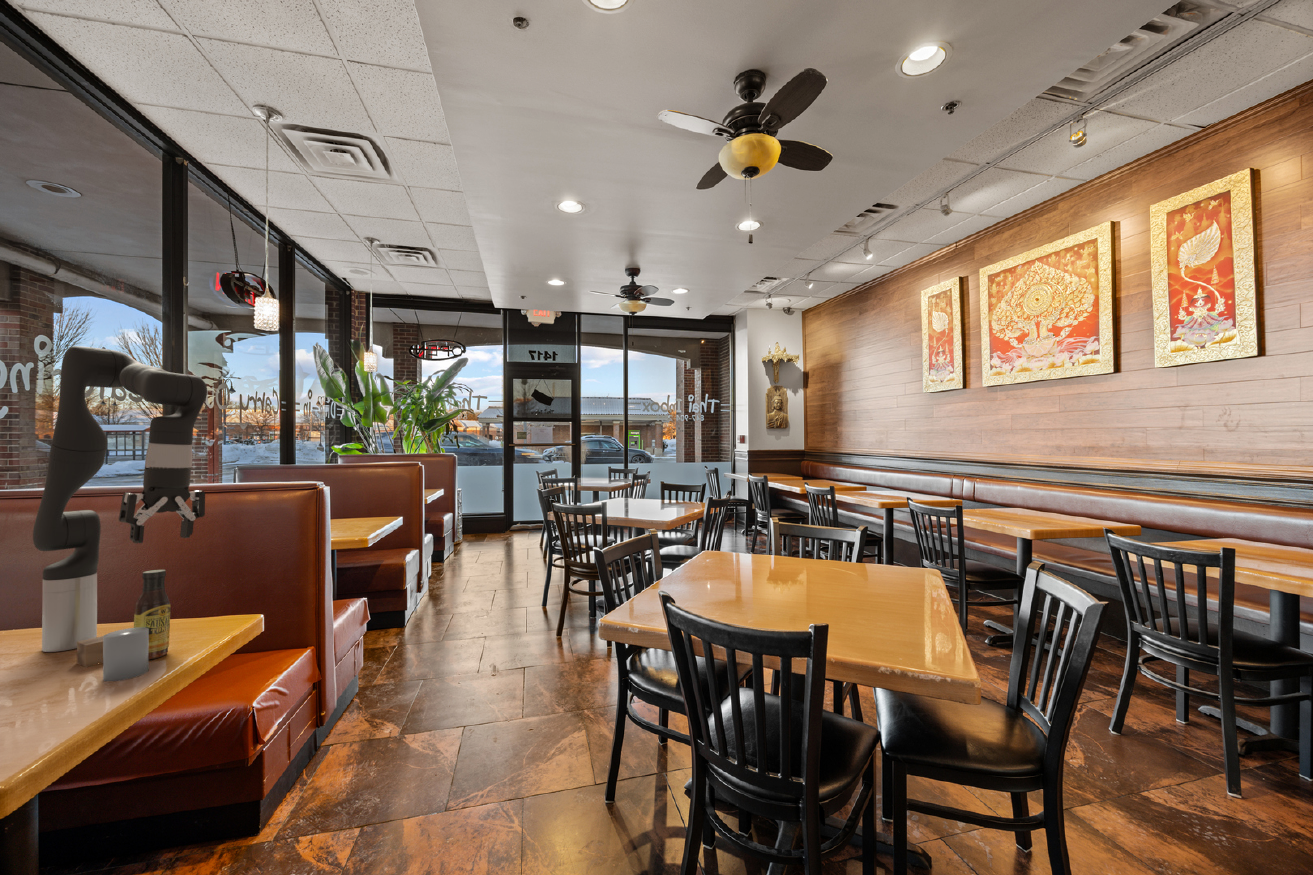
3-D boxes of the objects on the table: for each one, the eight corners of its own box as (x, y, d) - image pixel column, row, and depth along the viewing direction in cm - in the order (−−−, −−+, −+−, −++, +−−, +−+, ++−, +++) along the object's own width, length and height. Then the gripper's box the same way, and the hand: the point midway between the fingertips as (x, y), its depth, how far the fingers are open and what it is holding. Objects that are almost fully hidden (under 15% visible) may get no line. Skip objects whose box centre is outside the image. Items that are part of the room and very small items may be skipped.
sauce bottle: (146, 663, 122) (147, 575, 123) (124, 661, 124) (125, 574, 124) (177, 652, 129) (177, 568, 129) (156, 650, 130) (157, 567, 131)
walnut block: (76, 663, 123) (77, 641, 123) (107, 656, 127) (107, 634, 127) (85, 667, 120) (85, 645, 121) (115, 659, 125) (115, 638, 125)
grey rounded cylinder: (97, 677, 115) (97, 635, 115) (140, 665, 121) (140, 625, 121) (110, 684, 112) (111, 640, 112) (154, 671, 118) (154, 629, 118)
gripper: (195, 463, 125) (188, 534, 124) (116, 463, 111) (108, 542, 111) (216, 466, 122) (210, 538, 122) (138, 466, 109) (131, 547, 108)
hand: (161, 540), depth 116 cm, fingers open, 8 cm apart
